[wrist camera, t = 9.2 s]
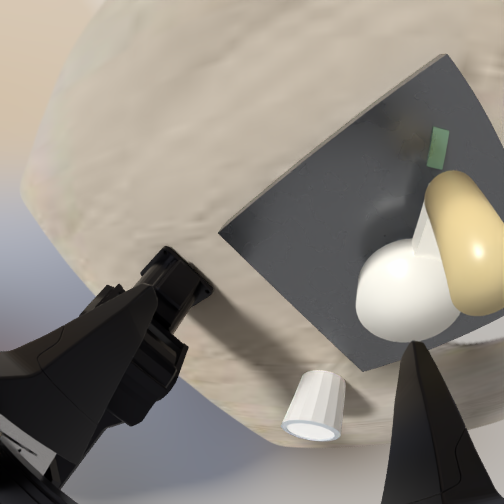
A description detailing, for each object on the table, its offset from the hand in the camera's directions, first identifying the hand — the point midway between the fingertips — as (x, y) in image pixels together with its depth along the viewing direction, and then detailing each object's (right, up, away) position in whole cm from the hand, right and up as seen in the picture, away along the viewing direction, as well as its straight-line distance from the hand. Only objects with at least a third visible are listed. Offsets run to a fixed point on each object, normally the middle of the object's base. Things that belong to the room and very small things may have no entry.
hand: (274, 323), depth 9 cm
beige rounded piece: (+9, +2, +6) cm, 12 cm away
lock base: (+11, +2, +10) cm, 15 cm away
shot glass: (+8, -13, +24) cm, 29 cm away
